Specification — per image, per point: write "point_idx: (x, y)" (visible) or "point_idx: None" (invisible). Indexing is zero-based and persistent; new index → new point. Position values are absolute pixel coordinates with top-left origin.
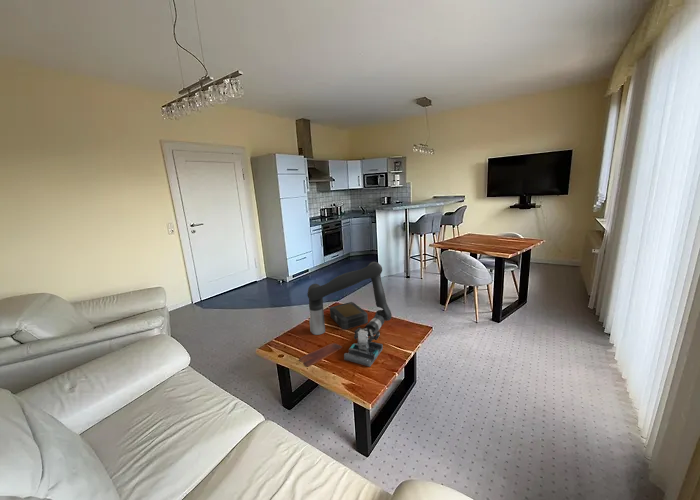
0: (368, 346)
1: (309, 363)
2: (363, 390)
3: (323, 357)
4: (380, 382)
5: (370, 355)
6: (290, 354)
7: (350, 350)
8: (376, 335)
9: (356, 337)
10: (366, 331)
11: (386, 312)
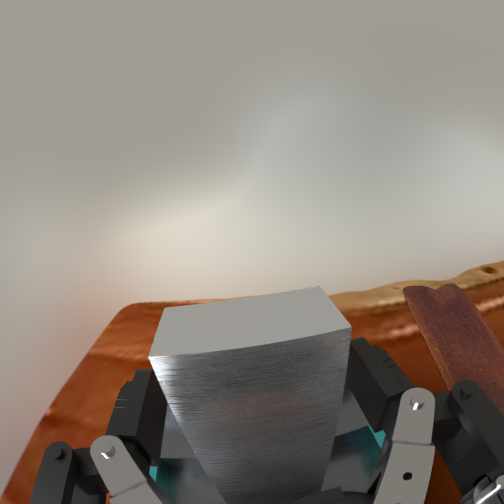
0: (220, 493)
1: (412, 291)
2: (152, 318)
3: (425, 329)
4: (101, 356)
5: (172, 443)
6: (489, 281)
7: (363, 413)
8: (49, 466)
9: (354, 376)
10: (176, 348)
11: None
